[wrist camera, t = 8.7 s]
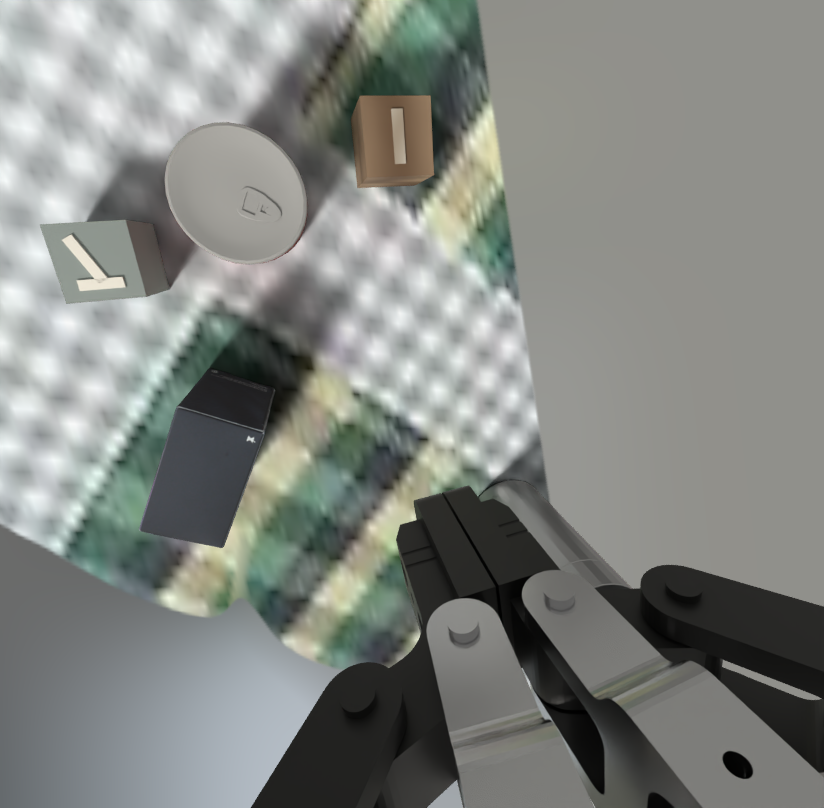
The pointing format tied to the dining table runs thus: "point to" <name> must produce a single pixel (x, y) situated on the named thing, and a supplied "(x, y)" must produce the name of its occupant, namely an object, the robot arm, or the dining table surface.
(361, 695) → the robot arm
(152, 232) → the slate digit block
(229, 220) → the canned food
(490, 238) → the dining table surface
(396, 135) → the walnut digit block
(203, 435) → the small box
